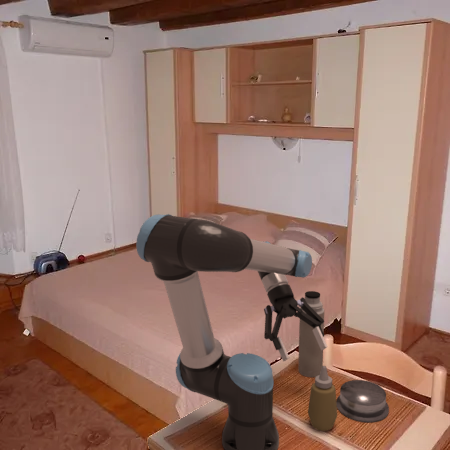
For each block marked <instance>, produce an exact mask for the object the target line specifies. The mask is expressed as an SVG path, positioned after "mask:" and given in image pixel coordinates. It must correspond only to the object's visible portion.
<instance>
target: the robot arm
mask: <svg viewBox="0 0 450 450" xmlns="http://www.w3.org/2000/svg"><path fill="white" fill-rule="evenodd" d="M135 246H136V252H137V255H138V257H139V258H140V259H141V260H143V261H144V262H147V263H150V264H151V267H152V269H153V273H154V276H155V277H156V279H158V280H159V281H161V282H163V284H164V287H165V291H166V295H167V298H168V300H169V304H170V307H171V311H172V314H173V318H174V321H175V324H176V325H175V326H176V328H177V331H178V335H179V338H180V342H181V344H182V349H181V350H180V352H179V354H178V356H177V359H176V362H175V363H176V366H175V376H176V380H177V381H178V383H179V384H180V385H181V386H182V387H183V388H185V389H187V390H188V391H189V392H193V393H195V394H200V395H202V396H205V397H208V398H211V399H213V400H217V401H219V402H221V403H225V404H227V407H228V408H227V411H228V412H227V413H228V415H227V418H226V421H225V424H224V427H223V430H222V432H221V433H222V434H221V435H222V436H221V445H222V448H223V449H224V450H278V449H279V447H280V446H279V445H280V435H279V430H278V428H277V425H276V422H275V419H274V416H273V410H274V405H273V403H274V401H273V400H274V397H273V396H274V376H273V375H274V372H273V368H272V366H271V364H270V363H269V362H268V361H267V360H266V359H265V358H264V357H262V356H259V355H257V354H254V353H249V352H246V354H245V353H244V352H242V353H241V352H240V353H235V354H234V355H232V356H229V355H227V354H225V352H224V347H223V344H222V342H221V341H220V340H219V339H217V338H215V335H214V331H213V327H212V324H211V320H210V319H211V318H210V315H209V312H208V307H207V304H206V299H205V296H204V292H203V287H202V284H201V280H200V276H199V272H208V273H211V272H213V273H214V272H216V273H218V272H222V273H225V272H226V273H227V272H228V273H239V272H242V271H244V270H248V271H254V272H257V273H258V277H259V278H260V280H261V283H262V285H263V288H264V291H265V292H266V295H267V298H268V300H269V302H270V304H267V305H266V306H265V307H264V308H263V311H264V315H265V319H264V333H263V334H264V335H263V337H264V339H265V340H269V341H270V342H272V343H273V347H274V349H275V350H276V351H278V353H279V355H280V357H281V359H282V362H286V361H288V359H290V357H289V354H288V351H287V349H286V346H285V344H284V341H283V339H282V336H281V335H280V336H278V335H279V333H280V329H281V325H282V322H283V319H286V318H293V317H295V318H299V320H300V319H301V320H303V321H304V322H306V323H307V324H308V325H310V326H311V327H313V328H314V329H313V330H312V331H313V333H314V335H315V337H316V340H317V342H318V344H319V346H320V349H321V350H323V351H324V350H325V349H327V348H328V344H327V342H326V340H325V338H323V337H325V332H324V333H323V331H322V329H321V324H323V323H324V324H325V319H324V320H323V319H322V318H321V317H320V316H319V315H318V314H317V313H316V312H315V311H314V310H313V309H312V308H311V307H310V306H309V305H308V304H307V302H306V300H305V297H303V296H302V297H301V298H300V299H297V300H296V298H295V295H294V292H293V289H292V287H291V285H290V284H289V280H288V277H287V276H291V277H295V278H307V277H308V276H309V274H310V272H311V270H312V265H313V258H312V255H311V253H310V252H309V251H305V250H302V249H294V248H289V247H286V246H282V245H277V244H272V243H271V242H269V241H268V240H267V241H261V240H256V239H253V238H250V237H249V236H248V235H247V234H246V233H244V232H242V231H239V230H237V229H233V228H232V227H231V228H230V227H228V226H226V225H223V224H219V223H217V222H214V221H210V220H206V219H200V218H199V219H198V218H192V217H184V216H178V215H175V216H174V215H172V214H169V213H168V214H159V213H158V214H153V215H152V216H150V217H148V218H147V219H146V220H144V221H143V223H142V225H141V227H140V228H139V232H138V234H137V238H136V244H135ZM301 308H302V309H301ZM302 310H303V311H304V312H303V311H302ZM273 312H274V313H276V317H275V322H274V325H273Z"/></svg>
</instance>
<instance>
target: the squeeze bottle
mask: <svg viewBox="0 0 450 450" xmlns="http://www.w3.org/2000/svg"><path fill="white" fill-rule="evenodd" d="M336 390H337V389H336V387H335V385H334V384H333V378H332V377H331V376H329V373H328V369H327V366H326V365H323V366H322V368H321V372H320V375H318V376H316V377H314V383H312V385H311V388H310V394H309V402H308V407H307V408H308V409H307V414H308V417H309V421H310V424H311V426H312V428H313V429H315V430H316V431H317V430H318V431H321V432H328V431H330V430H331V429H332V428H333V427H334V424H335V422H336V419H337V417H338V409H337V403H336V400H337V391H336Z"/></svg>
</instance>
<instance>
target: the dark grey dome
mask: <svg viewBox="0 0 450 450" xmlns="http://www.w3.org/2000/svg"><path fill="white" fill-rule="evenodd" d="M386 400H387V393H386V391H385V389H384V388H383V387H382V386H380V385H379V384H377V383H375V382H373V381H368V380H364V379H363V380H362V379H351V380H349V381H345V382H344V383H343V384H341V386H340V389H339V395H338V396H337V397H336V403H337V411H338V412H339V413H340V414H342V416H345V417H346V418H347V419H349V420H352V421H354V422H359V423H367V424H371V423H378V422H380V421H383V420H385V419H386V418H387V417H388V416H389V413H390V408H389V404H388V402H387V401H386Z"/></svg>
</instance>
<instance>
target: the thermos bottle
mask: <svg viewBox="0 0 450 450" xmlns="http://www.w3.org/2000/svg"><path fill="white" fill-rule="evenodd" d="M320 297H321V293H320V292H318V291H314V290H310V291H309V290H308V291H306V292H305V293H304V298H305V300H306V302H307V304H308V305H309V306H310V307H311V308H312V309H313V310H314V311H315V312H316V313H317V314H318V315H319V316H320V317H321V318H322V319H323V320H324V321H325V309H324V307H323V306H324V304H323V302H322V301H321V298H320ZM300 308H301V307H300ZM301 309H302V308H301ZM302 311H303V310H302ZM303 312H304V311H303ZM298 327H299V328H298V329H299V330H298V331H299V333H298V368H297V369H298V374H300V375H301V376H304V377H308V378H315V377H316V376H318V375H320V372H321V368H322V366H324V365H323V364H324V360H323V359H324V350H321V349H320V346H319V344H318V342H317V340H316V337H315V335H314V333H313V331H312V330H313V329H314V328H313V327H311V326H310V325H308V324H307V323H306V322H304V321H303V320H301V319H300V318H299V326H298ZM321 329H322V331H323V333H324V334H325V332H324V331H325V322H324V323H323V324H321ZM324 337H325V336H324ZM324 337H323V338H324ZM324 339H325V338H324Z"/></svg>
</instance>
